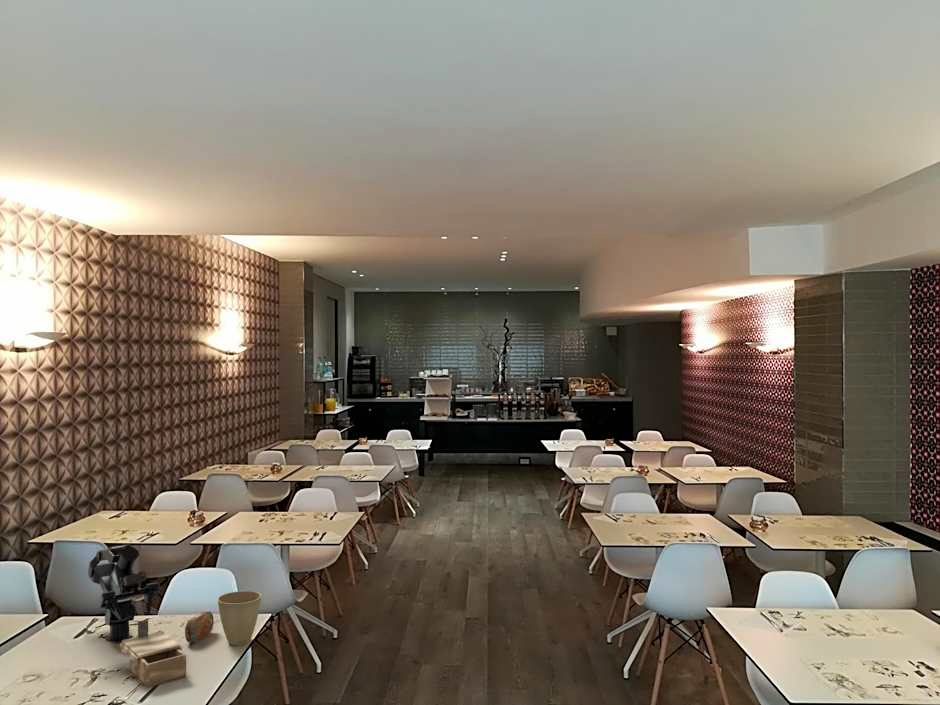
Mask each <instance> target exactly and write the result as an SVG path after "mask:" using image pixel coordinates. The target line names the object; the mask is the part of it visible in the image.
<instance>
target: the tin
mask: <svg viewBox="0 0 940 705" xmlns="http://www.w3.org/2000/svg"><path fill="white" fill-rule="evenodd" d="M214 623H215V622H214V614H213V613H212V612H211V611H201V612H200V613H199V614H197V615H195V616H194V617H192V618H190V619H189V620H188V621H187V623H186V625H185V628H184V634H185V640H186V642H187V643H189V644H191V643H192V644H193V643H194V644H197V643H199V642H200V641H202V640H203V639H205V638H206V637H208V636H209V635H210V634H211V633H212V631H213V628H214ZM207 635H208V636H207ZM204 637H205V638H204ZM201 639H202V640H201Z"/></svg>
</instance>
